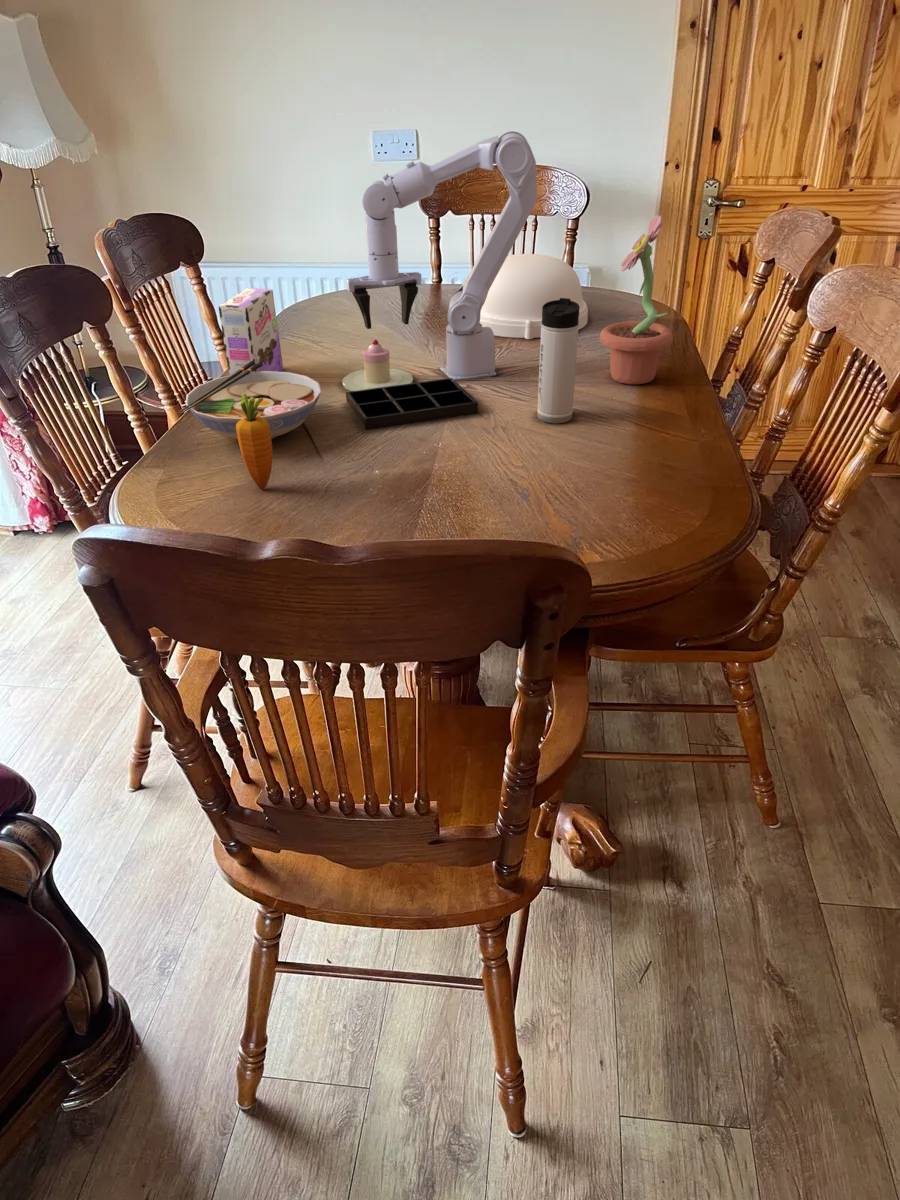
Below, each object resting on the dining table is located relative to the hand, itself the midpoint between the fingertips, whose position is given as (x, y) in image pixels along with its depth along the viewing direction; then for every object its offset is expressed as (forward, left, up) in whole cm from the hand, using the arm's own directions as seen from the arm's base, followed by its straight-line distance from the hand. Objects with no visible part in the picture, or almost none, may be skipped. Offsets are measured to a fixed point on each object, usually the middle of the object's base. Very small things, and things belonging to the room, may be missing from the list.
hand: (386, 325), depth 166 cm
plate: (+4, +4, -10) cm, 11 cm away
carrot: (+33, +43, -10) cm, 55 cm away
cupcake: (+4, +4, -9) cm, 11 cm away
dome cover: (-41, -26, -10) cm, 50 cm away
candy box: (+26, -7, -10) cm, 28 cm away
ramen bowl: (+30, +21, -10) cm, 38 cm away
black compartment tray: (+2, +20, -10) cm, 23 cm away
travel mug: (-21, +33, -10) cm, 41 cm away
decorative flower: (-44, +20, -10) cm, 50 cm away
